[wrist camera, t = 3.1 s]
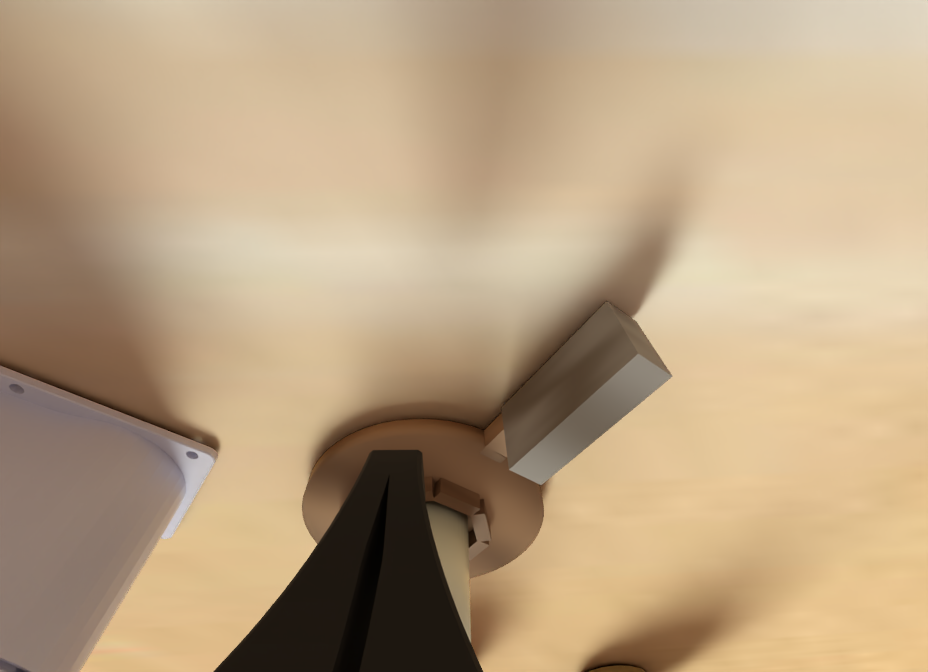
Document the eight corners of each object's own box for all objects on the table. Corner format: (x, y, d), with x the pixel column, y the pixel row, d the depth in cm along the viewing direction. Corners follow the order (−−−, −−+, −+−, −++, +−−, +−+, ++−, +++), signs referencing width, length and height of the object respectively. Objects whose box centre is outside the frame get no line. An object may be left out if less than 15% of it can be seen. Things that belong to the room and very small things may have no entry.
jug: (485, 513, 22) (494, 651, 17) (437, 554, 24) (431, 689, 19) (378, 467, 20) (353, 608, 15) (335, 516, 22) (299, 656, 17)
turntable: (455, 586, 28) (455, 669, 24) (271, 522, 24) (237, 609, 20) (720, 380, 19) (785, 461, 15) (496, 223, 15) (510, 282, 11)
